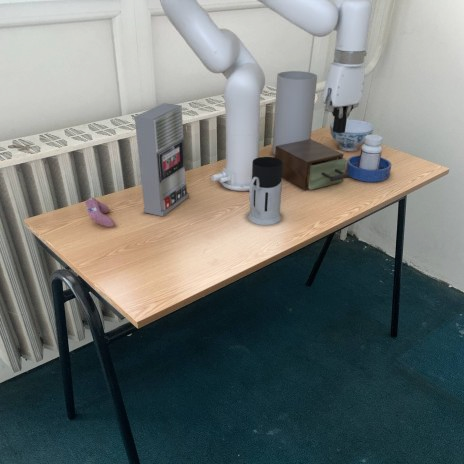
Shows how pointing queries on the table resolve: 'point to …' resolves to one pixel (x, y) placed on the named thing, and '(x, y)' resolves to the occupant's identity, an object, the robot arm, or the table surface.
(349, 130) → the chinaware
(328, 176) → the drawer
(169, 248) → the table surface
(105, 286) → the table surface
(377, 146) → the pill bottle
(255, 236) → the table surface
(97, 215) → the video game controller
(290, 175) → the cabinet
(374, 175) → the bowl
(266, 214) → the glass holder
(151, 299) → the table surface
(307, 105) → the cylinder vase
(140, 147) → the cassette tape recorder
